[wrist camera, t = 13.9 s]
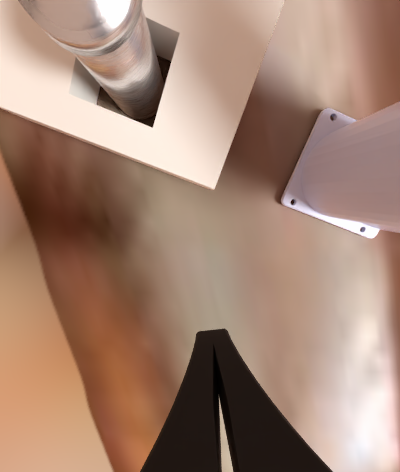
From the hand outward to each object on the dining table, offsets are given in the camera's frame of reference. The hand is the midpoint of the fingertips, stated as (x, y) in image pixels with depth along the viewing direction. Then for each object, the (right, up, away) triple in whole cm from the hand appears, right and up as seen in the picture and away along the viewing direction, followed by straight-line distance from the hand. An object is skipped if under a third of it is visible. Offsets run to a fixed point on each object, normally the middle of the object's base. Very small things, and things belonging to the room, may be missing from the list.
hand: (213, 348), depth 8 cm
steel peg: (-5, +16, +6) cm, 18 cm away
